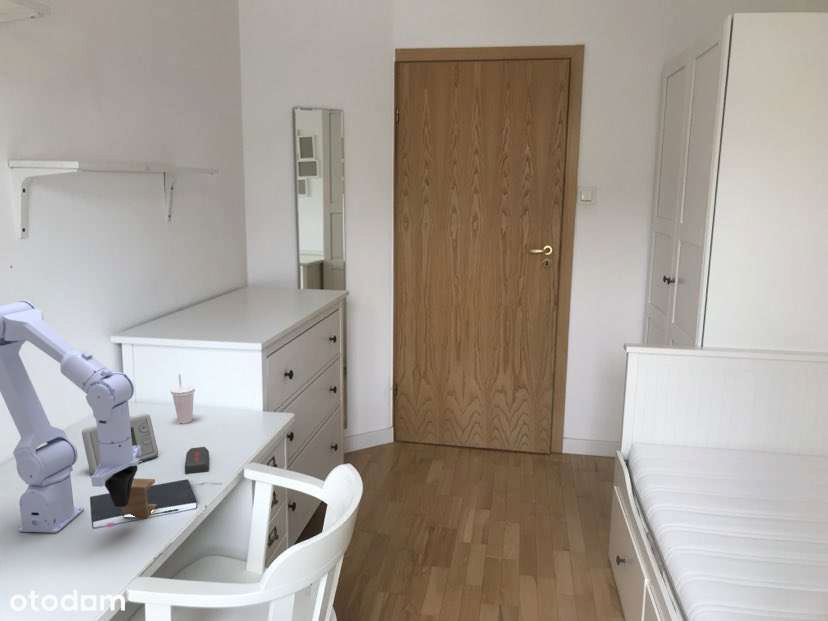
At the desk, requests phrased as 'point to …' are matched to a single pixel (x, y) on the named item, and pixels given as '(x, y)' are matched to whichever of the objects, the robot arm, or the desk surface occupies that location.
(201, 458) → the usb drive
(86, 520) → the desk surface
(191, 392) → the smoothie
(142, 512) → the open wooden box
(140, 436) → the digital clock
